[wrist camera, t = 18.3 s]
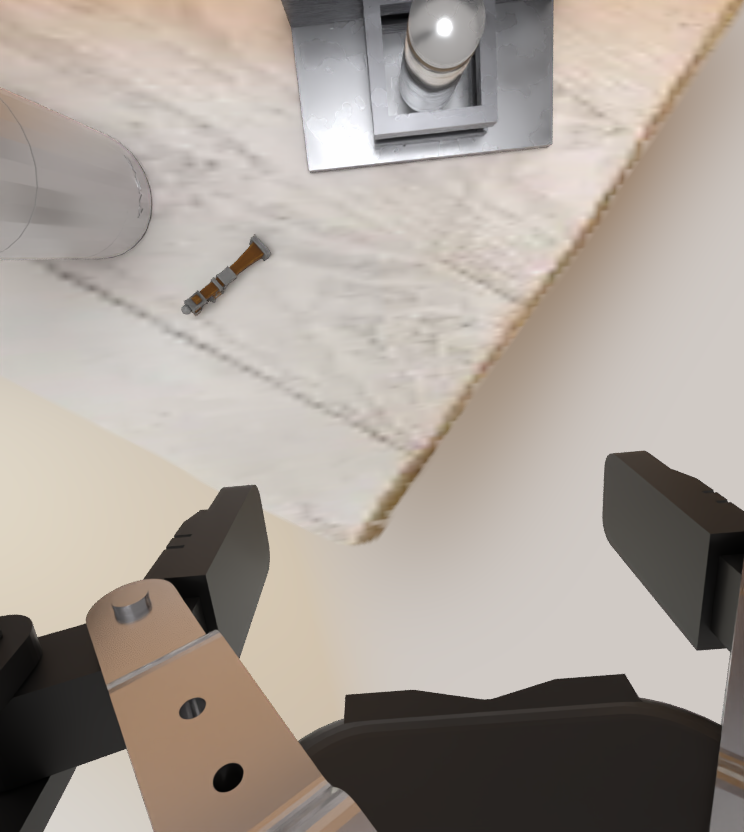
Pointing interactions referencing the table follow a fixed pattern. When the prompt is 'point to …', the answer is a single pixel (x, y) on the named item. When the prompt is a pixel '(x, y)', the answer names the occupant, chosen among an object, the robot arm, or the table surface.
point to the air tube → (438, 49)
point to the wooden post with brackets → (226, 277)
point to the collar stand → (380, 95)
